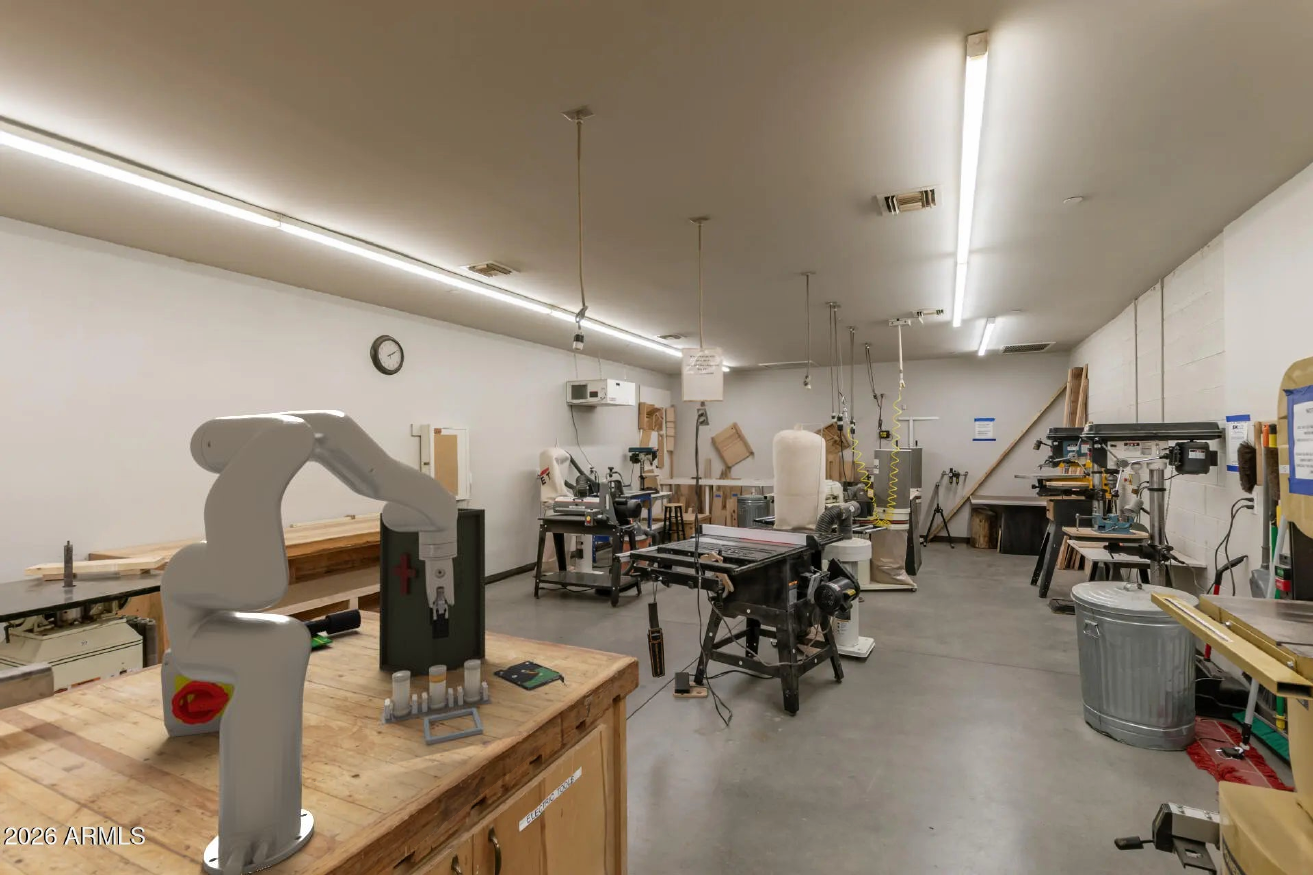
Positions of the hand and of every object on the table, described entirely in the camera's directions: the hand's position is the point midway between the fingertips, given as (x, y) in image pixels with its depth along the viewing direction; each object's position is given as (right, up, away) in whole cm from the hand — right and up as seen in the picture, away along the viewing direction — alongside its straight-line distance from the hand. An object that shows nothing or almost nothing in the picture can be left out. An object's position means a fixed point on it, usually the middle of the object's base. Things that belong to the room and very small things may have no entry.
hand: (439, 630), depth 118 cm
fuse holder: (0, -17, -1) cm, 17 cm away
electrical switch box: (-43, -18, -7) cm, 47 cm away
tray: (+7, -17, -10) cm, 21 cm away
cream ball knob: (+6, -16, +2) cm, 17 cm away
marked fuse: (0, -16, -1) cm, 16 cm away
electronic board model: (-56, -20, +44) cm, 74 cm away
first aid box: (-13, -19, +28) cm, 36 cm away
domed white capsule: (-6, -16, -4) cm, 17 cm away
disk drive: (+16, -18, +15) cm, 28 cm away
